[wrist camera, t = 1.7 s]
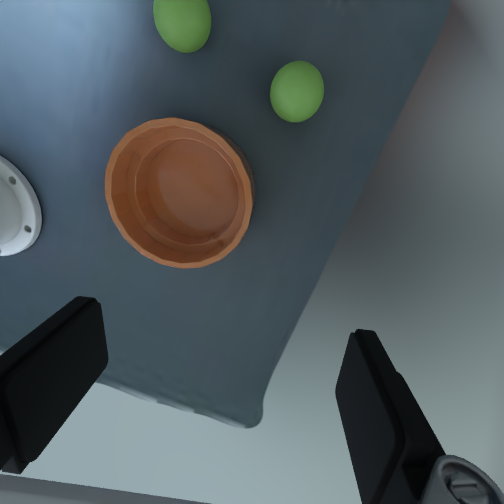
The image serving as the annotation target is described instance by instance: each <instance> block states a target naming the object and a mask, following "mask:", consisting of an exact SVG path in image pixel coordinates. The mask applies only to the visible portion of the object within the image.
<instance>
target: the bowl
mask: <svg viewBox="0 0 504 504" xmlns="http://www.w3.org/2000/svg"><path fill="white" fill-rule="evenodd" d="M105 172H106V173H105V198H106V201H107V204H108V208H109V211H110V214H111V218H112V220H113V221H114V223H115V224H116V226H117V228H118V229H119V231H120V232H121V234H122V235H123V237H124V238H125V239H126V240H127V241H128V242H129V243H130V244H131V245H132V246H133V247H134V248H135V249H136V250H138V251H139V252H140V253H141V254H143V255H144V256H146V257H148V258H150V259H152V260H154V261H156V262H158V263H159V264H163V265H167V266H172V267H176V268H182V269H183V268H197V267H204V266H206V265H209V264H211V263H214V262H216V261H219V260H221V259H223V258H224V257H225V256H226V255H227V254H228V253H230V252H231V251H232V250H233V249H234V248H236V247H237V245H238V244H239V242H240V240H241V239H242V237H243V235H244V234H245V232H246V230H247V229H248V226H249V223H250V219H251V216H252V213H253V208H254V203H255V199H256V187H255V177H254V173H253V171H252V168H251V166H250V164H249V161H248V159H247V157H246V155H245V154H244V152H243V151H242V150H241V149H240V148H239V146H238V145H237V144H236V143H235V142H234V141H233V139H231V138H230V137H229V136H227V135H225V134H224V133H222V132H220V131H219V130H217V129H216V128H214V127H212V126H208V125H205V124H201V123H198V122H193V121H189V120H185V119H180V118H176V117H170V118H162V119H155V120H149V121H146V122H145V123H143V124H141V125H139V126H137V127H136V128H134V129H132V130H130V131H128V132H127V133H126V134H125V136H124V137H123V138H122V139H121V140H120V142H119V143H118V144H117V145H116V147H115V148H114V149H113V151H112V153H111V156H110V159H109V162H108V165H107V168H106V171H105Z"/></svg>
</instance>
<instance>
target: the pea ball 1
mask: <svg viewBox="0 0 504 504" xmlns="http://www.w3.org/2000/svg"><path fill="white" fill-rule="evenodd" d="M153 15H154V21H155V24H156V27H157V30H158V32H159V34H160V35H161V37H162V38H163V40H164V41H165V42H166V43H167V44H168V45H169V46H170V47H172V48H173V49H175V50H176V51H179V52H183V53H191V52H195V51H197V50H199V49H200V48H201V47H202V46H203V45H204V44H205V43H206V41H207V39H208V37H209V34H210V31H211V12H210V8H209V5H208V2H207V0H154V5H153Z"/></svg>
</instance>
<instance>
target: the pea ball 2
mask: <svg viewBox="0 0 504 504" xmlns="http://www.w3.org/2000/svg"><path fill="white" fill-rule="evenodd" d="M323 95H324V84H323V79H322V77H321V75H320V73H319V71H318V70H317V69H316V68H315V67H314V66H313V65H312V64H310V63H308V62H305V61H294V62H291V63H288V64H287V65H285V66H283V67H282V68H281V69H280V70H279V71H278V72H277V74H276V75H275V77H274V79H273V81H272V85H271V89H270V99H271V104H272V107H273V109H274V111H275V112H276V113H277V115H278V116H279V117H281V118H282V119H284V120H285V121H288V122H302V121H304V120H307V119H308V118H310V117H311V116H312V115H313V114H314V113H315V112H316V111H317V110H318V108H319V106H320V104H321V102H322V99H323Z"/></svg>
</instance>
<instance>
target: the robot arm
mask: <svg viewBox="0 0 504 504" xmlns="http://www.w3.org/2000/svg"><path fill="white" fill-rule="evenodd" d="M41 224H42V215H41V208H40V205H39V201H38V198H37V196H36V194H35V192H34V190H33V188H32V186H31V185H30V183H29V182H28V180H27V179H26V178H25V176H24V175H23V174H22V173H21V172H20V171H19V170H18V169H17V168H16V167H15V166H14V165H13V164H12V163H10V162H9V161H8V160H6V159H5V158H3V157H2V156H0V256H7V255H13V254H16V253H18V252H21V251H23V250H25V249H27V248H29V247H30V246H31V245H32V244H33V243H34V242H35V241H36V239H37V237H38V236H39V233H40V230H41ZM107 363H108V351H107V344H106V337H105V330H104V323H103V316H102V309H101V304H100V303H99V302H97V300H96V299H95V298H91V297H83V296H78V297H76V298H74V299H73V300H72V301H70V302H69V303H68V304H67V305H65V306H64V307H63V308H61V309H60V310H59V311H57V312H56V313H55V314H54V315H52V316H51V317H50V318H48V319H47V320H46V321H44V322H43V323H42V324H41V325H39V326H38V327H37V328H35V329H34V330H33V331H32V332H30V333H29V334H28V335H26V336H25V337H24V338H22V339H21V340H20V341H19V342H17V343H16V344H15V345H13V346H12V347H11V348H10V349H8V350H7V351H6V352H4V353H3V354H2V355H0V470H2V472H8V473H15V474H21V473H22V472H23V470H24V469H25V468H26V466H27V465H28V464H29V463H30V462H32V461H34V460H36V459H37V457H39V455H40V454H41V453H42V451H43V450H44V449H45V447H46V446H47V445H48V443H49V442H50V441H51V439H52V438H53V437H54V435H55V434H56V433H57V431H58V430H59V429H60V427H61V426H62V425H63V424H64V422H65V421H66V419H67V418H68V417H69V416H70V414H71V413H72V412H73V410H74V409H75V408H76V406H77V405H78V403H79V402H80V401H81V399H82V398H83V397H84V396H85V394H86V393H87V392H88V390H89V389H90V388H91V386H92V385H93V384H94V382H95V381H96V380H97V378H98V377H99V376H100V374H101V373H102V372H103V370H104V369H105V368H106V366H107ZM335 393H336V399H337V404H338V408H339V412H340V416H341V420H342V424H343V428H344V432H345V436H346V440H347V444H348V448H349V452H350V457H351V461H352V465H353V469H354V473H355V477H356V481H357V485H358V489H359V493H360V497H361V501H362V504H504V494H503V493H502V491H501V490H500V488H499V487H498V486H497V484H496V483H495V482H494V481H493V480H492V479H491V478H490V477H489V476H488V475H487V474H486V473H485V472H483V471H482V470H481V469H480V468H478V467H477V466H476V465H474V464H473V463H471V462H469V461H467V460H465V459H464V458H461V457H458V456H454V455H446V454H445V452H444V450H443V448H442V446H441V444H440V443H439V441H438V439H437V437H436V435H435V434H434V432H433V430H432V428H431V427H430V425H429V423H428V421H427V420H426V418H425V416H424V414H423V412H422V410H421V409H420V407H419V405H418V403H417V401H416V399H415V398H414V396H413V394H412V392H411V391H410V389H409V387H408V385H407V383H406V382H405V380H404V378H403V377H402V375H401V374H400V373H398V372H397V371H396V369H395V368H394V366H393V364H392V362H391V360H390V358H389V357H388V355H387V353H386V351H385V349H384V347H383V346H382V344H381V342H380V340H379V338H378V336H377V334H376V333H375V332H374V331H372V330H363V329H357V330H356V331H355V333H351V334H350V336H349V340H348V344H347V347H346V351H345V355H344V358H343V362H342V366H341V369H340V373H339V377H338V381H337V384H336V390H335ZM0 504H209V503H203V502H196V501H189V500H182V499H175V498H168V497H161V496H153V495H147V494H140V493H133V492H126V491H119V490H112V489H105V488H98V487H91V486H84V485H77V484H69V483H62V482H55V481H47V480H40V479H33V478H26V477H18V476H11V475H3V474H0Z"/></svg>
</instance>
